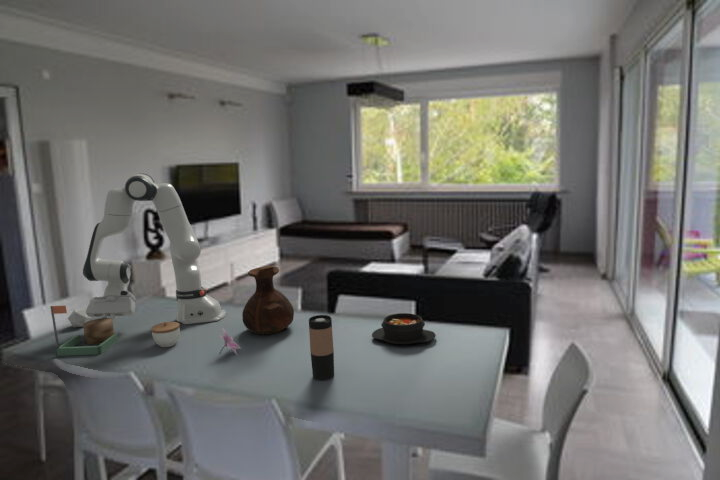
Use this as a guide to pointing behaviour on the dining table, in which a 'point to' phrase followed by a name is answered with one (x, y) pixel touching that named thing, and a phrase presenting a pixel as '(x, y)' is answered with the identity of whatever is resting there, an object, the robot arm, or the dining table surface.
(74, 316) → the white faceted block
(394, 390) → the dining table surface
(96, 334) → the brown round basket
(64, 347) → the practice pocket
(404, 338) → the casserole
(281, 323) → the jug
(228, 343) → the lily
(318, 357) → the travel mug
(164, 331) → the lidded jar
